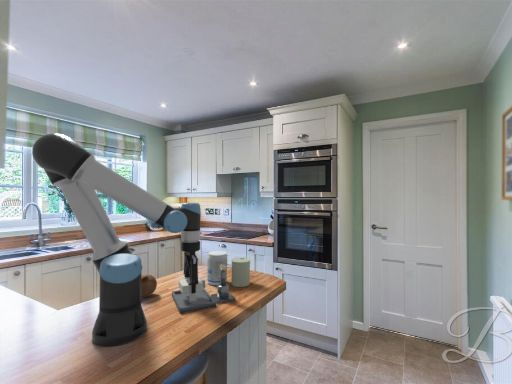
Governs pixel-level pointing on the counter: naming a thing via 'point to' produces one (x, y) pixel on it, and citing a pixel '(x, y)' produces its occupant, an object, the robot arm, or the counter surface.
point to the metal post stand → (223, 288)
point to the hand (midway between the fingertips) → (190, 296)
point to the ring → (185, 287)
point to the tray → (201, 301)
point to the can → (240, 272)
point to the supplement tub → (215, 266)
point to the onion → (148, 285)
